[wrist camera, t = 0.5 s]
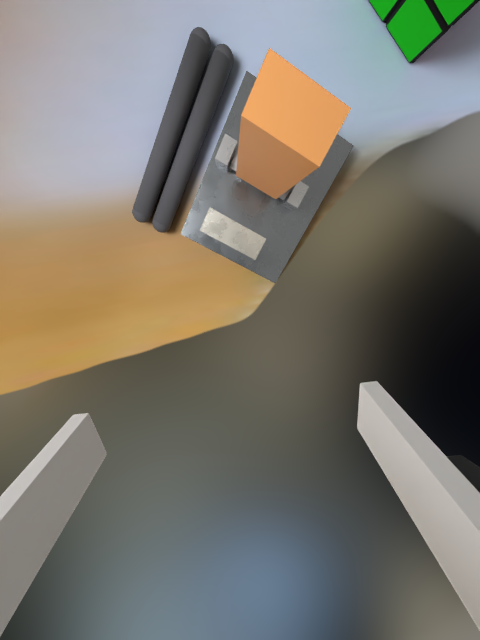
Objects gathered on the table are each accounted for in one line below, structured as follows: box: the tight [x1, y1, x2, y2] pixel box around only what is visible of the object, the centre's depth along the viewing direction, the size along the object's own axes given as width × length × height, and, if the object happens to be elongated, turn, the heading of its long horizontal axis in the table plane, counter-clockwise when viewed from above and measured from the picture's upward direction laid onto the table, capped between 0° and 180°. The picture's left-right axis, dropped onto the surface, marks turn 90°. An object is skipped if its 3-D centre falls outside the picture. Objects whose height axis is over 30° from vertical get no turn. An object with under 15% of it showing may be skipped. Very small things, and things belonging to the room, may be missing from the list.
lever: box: [230, 48, 351, 200], centre depth 20 cm, size 3×7×16 cm, turn 63°
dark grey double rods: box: [132, 27, 233, 232], centre depth 27 cm, size 20×5×2 cm, turn 153°
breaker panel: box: [181, 71, 353, 283], centre depth 28 cm, size 18×14×5 cm
